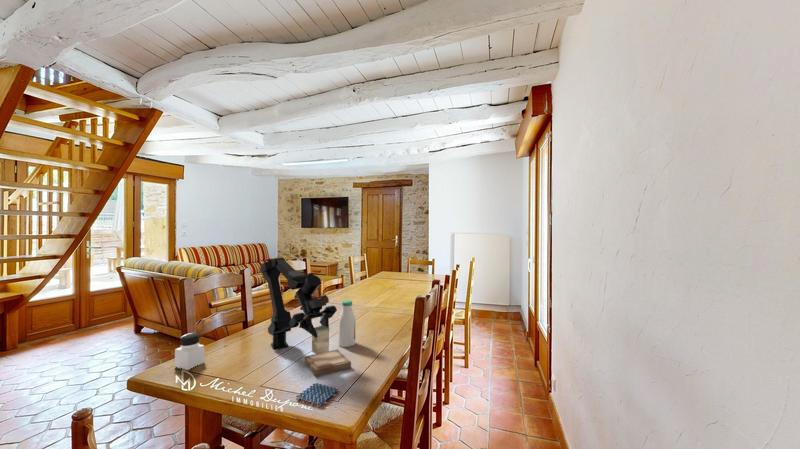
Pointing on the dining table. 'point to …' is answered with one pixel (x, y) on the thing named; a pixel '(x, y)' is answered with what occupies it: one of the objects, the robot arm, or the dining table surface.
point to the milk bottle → (346, 325)
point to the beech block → (320, 340)
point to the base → (327, 363)
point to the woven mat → (318, 395)
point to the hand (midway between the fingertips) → (322, 335)
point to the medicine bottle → (189, 352)
